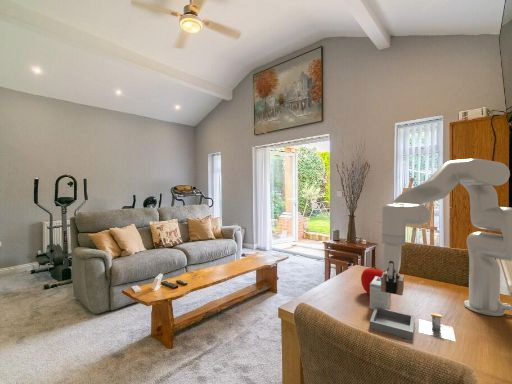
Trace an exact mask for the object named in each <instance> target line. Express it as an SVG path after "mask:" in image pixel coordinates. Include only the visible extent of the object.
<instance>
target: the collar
mask: <svg viewBox="0 0 512 384" xmlns="http://www.w3.org/2000/svg"><path fill="white" fill-rule="evenodd" d="M393 276H394V275H393ZM386 280H387V271H386V272H383V274H382V276H381V291H382V292H386ZM396 282H397V293H396V294H395V295H396V296H403V295H404V294H403V292H404V289H405V288H404V287H405V286H404V283H405V275H403V274H399V273H398V274H396ZM386 293H387V292H386ZM391 295H393V294H392V293H391Z"/></svg>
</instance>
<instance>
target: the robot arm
mask: <svg viewBox="0 0 512 384" xmlns="http://www.w3.org/2000/svg"><path fill="white" fill-rule="evenodd" d="M510 172H511V171H510V169H509V167H508V166H507V165H506V164H505V163H503V162H500V161H493V160H488V159H480V158H466V159H465V158H464V159H454V160H448V161H446V162H444V163H443V164H442V165H441V166H440V167H439V168H438V169H437V170H436V171H434V173H432V174H431V176H430V177H428V178H427V179H426V181H424V182H422V183H420V184H418V185H416V186H414V187H411V188H410V189H407V190H406V191H404V192H401V194H399V195H398V196H397V197H396V198H394V200H393V201H391V203H390V204H389V203H388V204H384V205H383V206H382V208H381V236H380V237H381V238H380V239H381V240H380V241H381V244H383V256H382V257H383V259H382V270H383V272H386V273H387V280H386V292H387V293H392V294H391V295H396V293H397V282H396V274H398V275H399V272H400V270H401V262H402V246H405V245H406V232H407V230H406V228H407V227H406V225H408V226H410V225H411V226H423V225H425V224H427V223H428V222H429V221H430V219H431V212H430V210H429V209H428V208H427V207H426V206H425V205H423V204H428V203H431V202H436V201H440V200H444V199H445V198H446V197H447V196H448V195H449V194H450V193H451V192H452V191H453V190H454V189H455V188H456V187H457V186H458V185H459V184H460V185H462V186H463V187H464V189H465V190H466V191H467V192H468V195H469V208H470V209H469V210H470V211H469V212H470V213H469V214H470V221H471V225H472V226H473V227H475V228H477V229H481V230H487V232H485V231H475V232H474V231H473V232H471V233H470V234H469V235H467V238H466V247H467V251H468V252H467V253H468V258H469V263H468V265H469V267H468V269H469V270H468V271H469V273H468V299H465V300H464V301H463V305H464V307H466V309H468V310H470V311H472V312H475V313H476V314H477V313H478V314H481V315H486V316H492V317H503V316H505V314H506V311H510V312H511V311H512V305H511V304H510V303H506V302H505V303H504V302H502V301H501V300H500V298H501V297H500V295H501V294H500V293H501V291H500V290H501V267H500V265H499V263H498V261H497V260H502V261H505V262H512V207H508V206H499V199H498V198H499V197H498V193H497V191H496V189H495V187H494V186H501V185H504V184H506V183H507V182H508V180H509V178H510V176H511V173H510ZM488 230H489V231H494V232H501V234H500V233H499V234H498V233H494V232H488ZM496 259H497V260H496ZM393 275H394V276H393ZM505 310H506V311H505Z"/></svg>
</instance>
